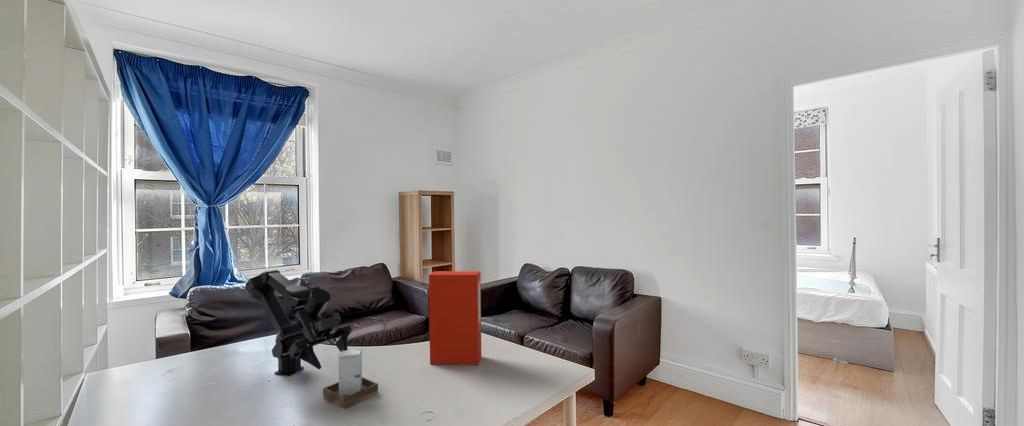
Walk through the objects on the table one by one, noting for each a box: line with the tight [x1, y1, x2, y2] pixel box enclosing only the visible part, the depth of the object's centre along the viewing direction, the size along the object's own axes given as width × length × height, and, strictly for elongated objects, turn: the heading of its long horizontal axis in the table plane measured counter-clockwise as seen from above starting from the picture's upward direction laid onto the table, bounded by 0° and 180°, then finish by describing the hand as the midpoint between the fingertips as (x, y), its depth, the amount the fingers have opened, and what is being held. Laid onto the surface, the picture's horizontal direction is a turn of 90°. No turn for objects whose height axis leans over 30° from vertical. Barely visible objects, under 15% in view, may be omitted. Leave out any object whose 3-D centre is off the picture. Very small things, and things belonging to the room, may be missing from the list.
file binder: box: [428, 270, 482, 366], centre depth 142 cm, size 8×17×32 cm, turn 86°
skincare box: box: [338, 349, 363, 396], centre depth 118 cm, size 6×4×12 cm
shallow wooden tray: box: [322, 376, 379, 410], centre depth 117 cm, size 11×11×3 cm
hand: (334, 362), depth 121 cm, fingers open, 9 cm apart
